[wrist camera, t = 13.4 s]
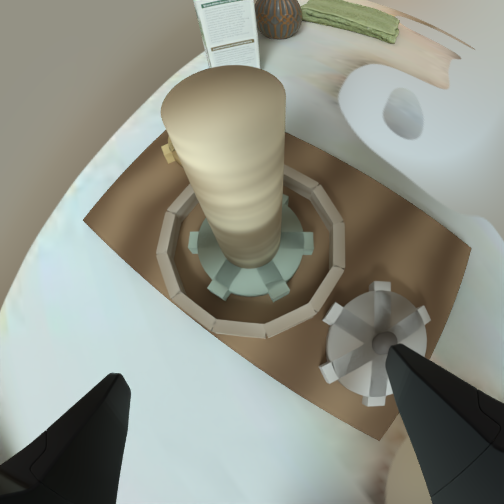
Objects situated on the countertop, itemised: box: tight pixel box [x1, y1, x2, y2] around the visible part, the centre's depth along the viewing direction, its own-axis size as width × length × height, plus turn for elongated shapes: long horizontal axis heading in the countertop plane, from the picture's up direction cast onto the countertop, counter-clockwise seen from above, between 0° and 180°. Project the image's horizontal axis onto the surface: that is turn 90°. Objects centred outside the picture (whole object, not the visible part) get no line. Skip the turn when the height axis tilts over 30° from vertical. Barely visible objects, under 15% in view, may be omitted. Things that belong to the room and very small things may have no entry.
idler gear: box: [161, 65, 314, 302], centre depth 14 cm, size 8×8×13 cm
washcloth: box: [301, 0, 399, 43], centre depth 34 cm, size 13×18×3 cm
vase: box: [255, 0, 302, 39], centre depth 29 cm, size 7×7×9 cm
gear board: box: [83, 130, 471, 441], centre depth 20 cm, size 30×17×3 cm, turn 54°
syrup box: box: [193, 0, 260, 69], centre depth 23 cm, size 6×6×14 cm
